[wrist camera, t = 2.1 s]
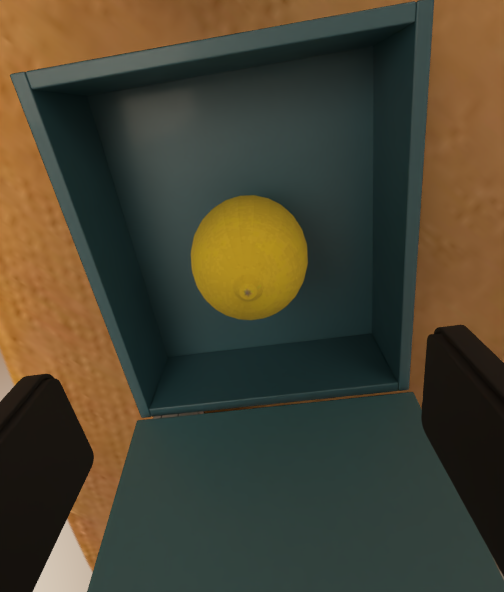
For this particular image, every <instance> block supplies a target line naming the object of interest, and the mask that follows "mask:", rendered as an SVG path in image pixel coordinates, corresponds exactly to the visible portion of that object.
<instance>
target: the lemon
mask: <svg viewBox="0 0 504 592" xmlns="http://www.w3.org/2000/svg"><path fill="white" fill-rule="evenodd" d="M307 264H308V256H307V243H306V240H305V237H304V234H303V231H302V229H301V227H300V225H299V224H298V222H297V221H296V219H295V218H294V216H293V215H292V214H291V213H290V212H289V211H288V210H287V209H285V208H284V207H283V206H282V205H281V204H279V203H277V202H275V201H273V200H271V199H269V198H265V197H260V196H256V195H246V196H238V197H234V198H231V199H228V200H225V201H224V202H222V203H221V204H219V205H217V206H216V207H214V208H213V209H212V210H211V211H210V212H209V213H208V214H207V215H206V216H205V217H204V219H203V220H202V221H201V223H200V225H199V227H198V229H197V231H196V233H195V235H194V239H193V244H192V248H191V266H192V273H193V276H194V279H195V282H196V285H197V288H198V289H199V291H200V292H201V294H202V296H203V297H204V299H205V300H206V301H207V302H208V303H209V304H210V305H211V306H212V307H213V308H215V309H216V310H217V311H219V312H221V313H223V314H224V315H226V316H229V317H233V318H236V319H241V320H256V319H263V318H266V317H269V316H271V315H274V314H276V313H278V312H279V311H281V310H282V309H283V308H285V307H286V306H287V305H288V304H289V303H290V302H291V301H292V300H293V299H294V298H295V296H296V295H297V293H298V291H299V289H300V287H301V285H302V284H303V281H304V278H305V274H306V269H307Z"/></svg>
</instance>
